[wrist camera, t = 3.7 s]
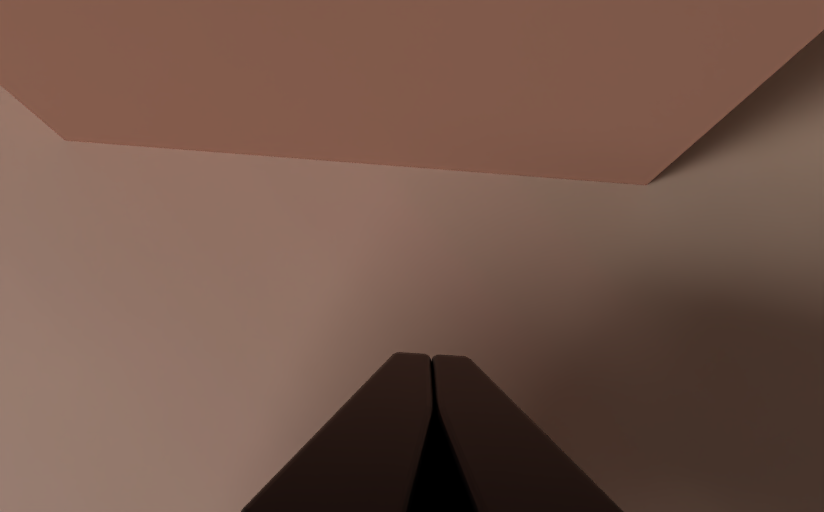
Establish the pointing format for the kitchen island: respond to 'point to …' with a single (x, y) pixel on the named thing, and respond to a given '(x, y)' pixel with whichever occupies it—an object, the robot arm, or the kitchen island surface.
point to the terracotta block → (403, 77)
